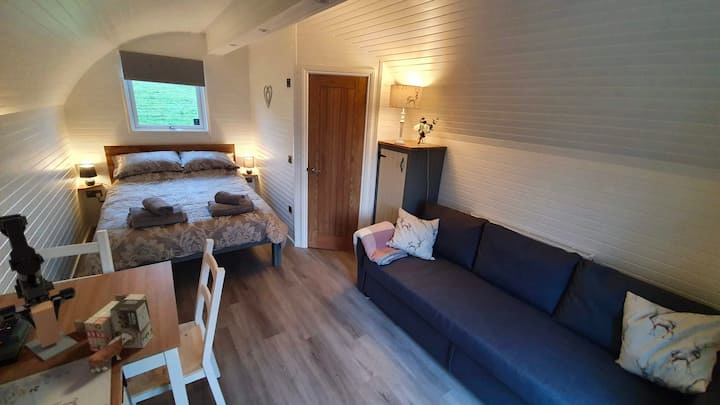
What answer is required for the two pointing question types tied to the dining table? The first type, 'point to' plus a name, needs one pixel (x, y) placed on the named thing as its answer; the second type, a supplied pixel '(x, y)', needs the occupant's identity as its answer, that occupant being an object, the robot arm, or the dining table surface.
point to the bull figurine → (108, 352)
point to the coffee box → (132, 322)
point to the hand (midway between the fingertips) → (46, 325)
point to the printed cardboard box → (104, 325)
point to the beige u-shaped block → (80, 323)
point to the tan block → (46, 323)
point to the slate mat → (51, 347)
